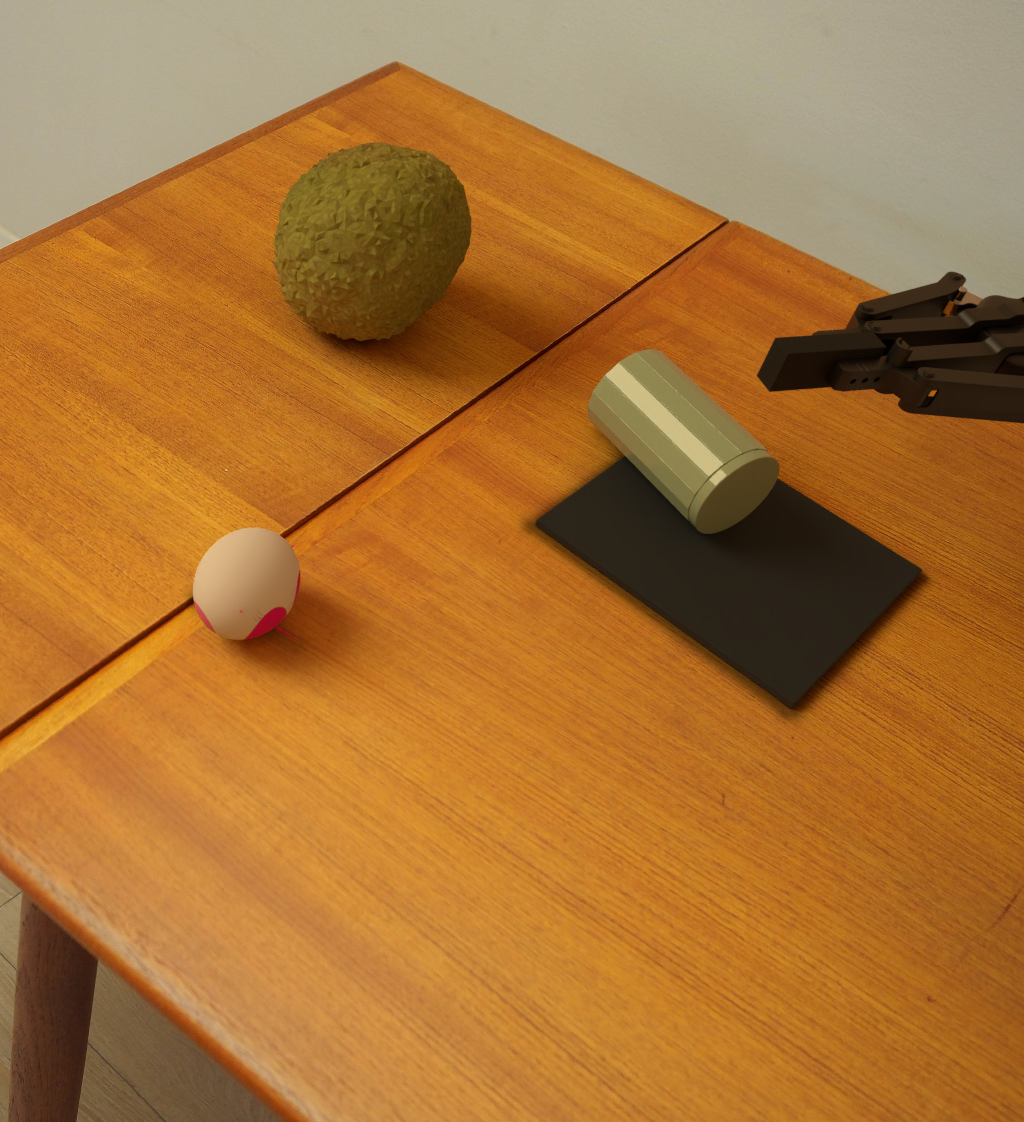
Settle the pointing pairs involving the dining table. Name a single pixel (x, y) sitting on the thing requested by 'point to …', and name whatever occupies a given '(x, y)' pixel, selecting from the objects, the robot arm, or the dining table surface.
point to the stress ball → (246, 583)
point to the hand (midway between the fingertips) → (772, 365)
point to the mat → (738, 574)
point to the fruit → (371, 240)
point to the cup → (682, 441)
